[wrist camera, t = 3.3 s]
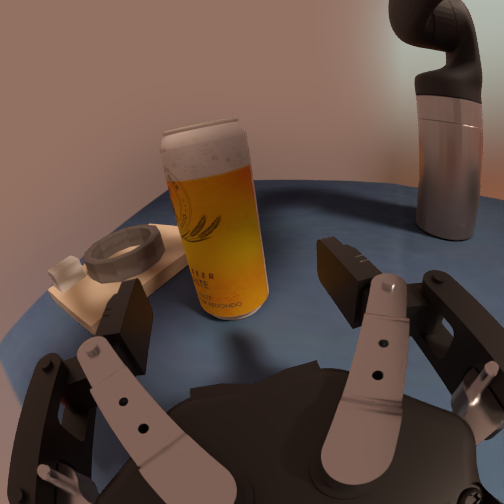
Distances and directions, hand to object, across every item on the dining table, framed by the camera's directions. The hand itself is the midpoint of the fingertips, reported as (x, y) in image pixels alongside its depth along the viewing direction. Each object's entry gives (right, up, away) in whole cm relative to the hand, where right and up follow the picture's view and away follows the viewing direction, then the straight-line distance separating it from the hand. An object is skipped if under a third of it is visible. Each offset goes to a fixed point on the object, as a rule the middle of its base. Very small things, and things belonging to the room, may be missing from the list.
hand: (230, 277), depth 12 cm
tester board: (-14, -1, +20) cm, 25 cm away
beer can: (-1, -3, +12) cm, 13 cm away
